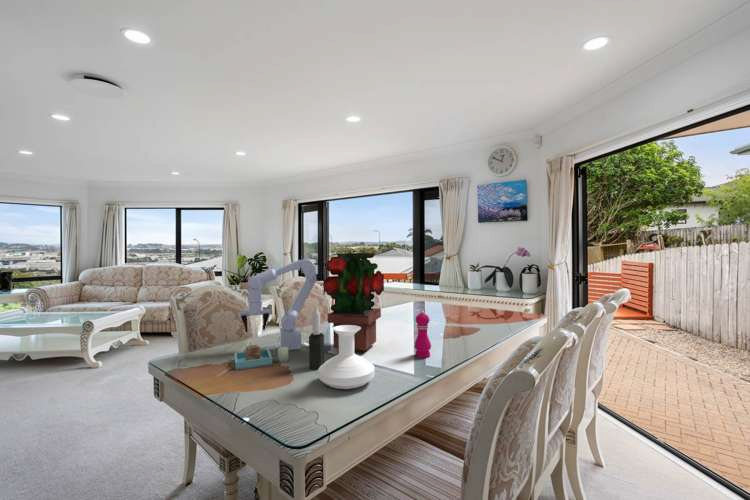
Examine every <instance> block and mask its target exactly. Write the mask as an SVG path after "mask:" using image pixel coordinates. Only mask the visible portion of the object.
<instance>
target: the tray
mask: <svg viewBox="0 0 750 500" xmlns="http://www.w3.org/2000/svg"><path fill="white" fill-rule="evenodd" d="M234 366H235V367H234V368H235V369H234V370H235V371H240V370H248V369H255V368H261V367H270V366H273V355H271V354H270V351H269V349H266V348H264V349H260V359H255V360H247V361H246V351H239V352H238V351H237V352H234Z"/></svg>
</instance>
